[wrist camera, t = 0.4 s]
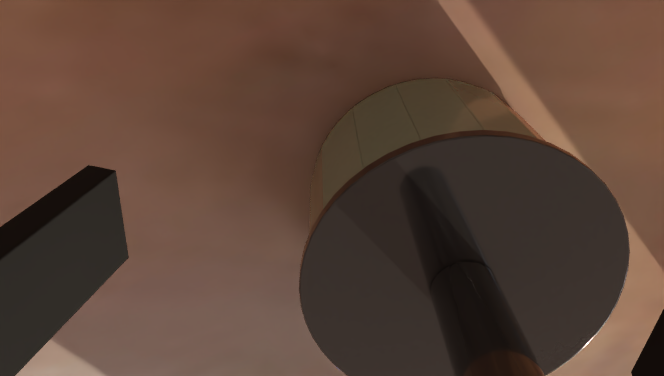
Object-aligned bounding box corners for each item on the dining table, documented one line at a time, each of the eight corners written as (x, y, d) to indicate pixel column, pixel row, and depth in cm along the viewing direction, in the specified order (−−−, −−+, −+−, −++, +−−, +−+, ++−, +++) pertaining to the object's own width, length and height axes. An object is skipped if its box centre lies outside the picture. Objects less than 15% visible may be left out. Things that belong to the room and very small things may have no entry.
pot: (296, 94, 28) (289, 163, 20) (542, 63, 27) (629, 121, 20) (327, 288, 33) (330, 398, 26) (530, 265, 33) (594, 370, 25)
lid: (275, 146, 20) (243, 337, 11) (636, 102, 20) (904, 261, 11) (321, 397, 27) (325, 648, 18) (597, 367, 26) (746, 609, 17)
